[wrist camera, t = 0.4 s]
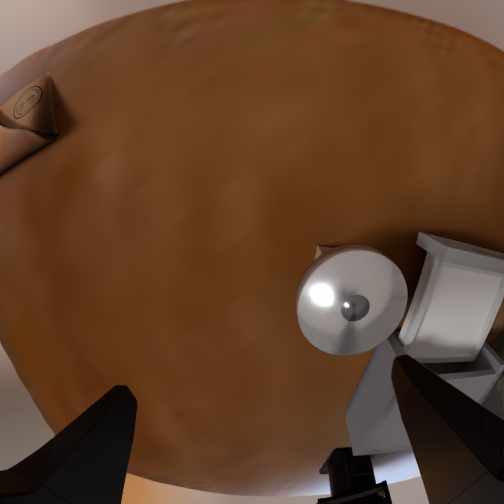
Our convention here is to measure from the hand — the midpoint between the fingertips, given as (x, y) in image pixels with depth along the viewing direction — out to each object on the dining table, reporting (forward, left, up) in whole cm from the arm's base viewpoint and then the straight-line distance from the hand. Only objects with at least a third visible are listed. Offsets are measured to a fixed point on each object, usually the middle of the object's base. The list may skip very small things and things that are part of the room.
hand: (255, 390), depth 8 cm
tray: (-1, -18, -13) cm, 22 cm away
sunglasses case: (+9, +29, -15) cm, 34 cm away
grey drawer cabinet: (-11, -18, -14) cm, 25 cm away
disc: (-1, -6, -10) cm, 11 cm away
